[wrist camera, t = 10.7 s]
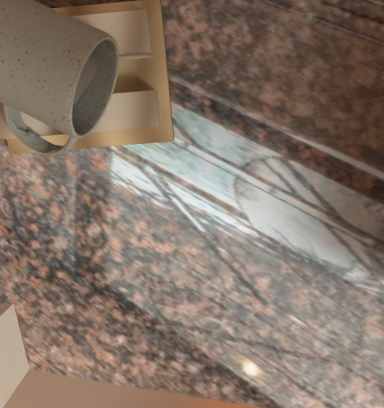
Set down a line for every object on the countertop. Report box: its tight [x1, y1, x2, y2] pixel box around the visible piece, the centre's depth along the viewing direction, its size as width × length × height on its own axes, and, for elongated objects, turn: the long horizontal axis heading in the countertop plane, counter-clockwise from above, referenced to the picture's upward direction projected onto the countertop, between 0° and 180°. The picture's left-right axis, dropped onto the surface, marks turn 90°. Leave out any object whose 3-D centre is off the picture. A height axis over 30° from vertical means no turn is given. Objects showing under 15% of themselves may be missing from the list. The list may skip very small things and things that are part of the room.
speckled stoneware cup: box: [0, 0, 119, 156], centre depth 22 cm, size 11×8×8 cm
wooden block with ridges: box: [0, 0, 174, 154], centre depth 27 cm, size 16×12×4 cm
